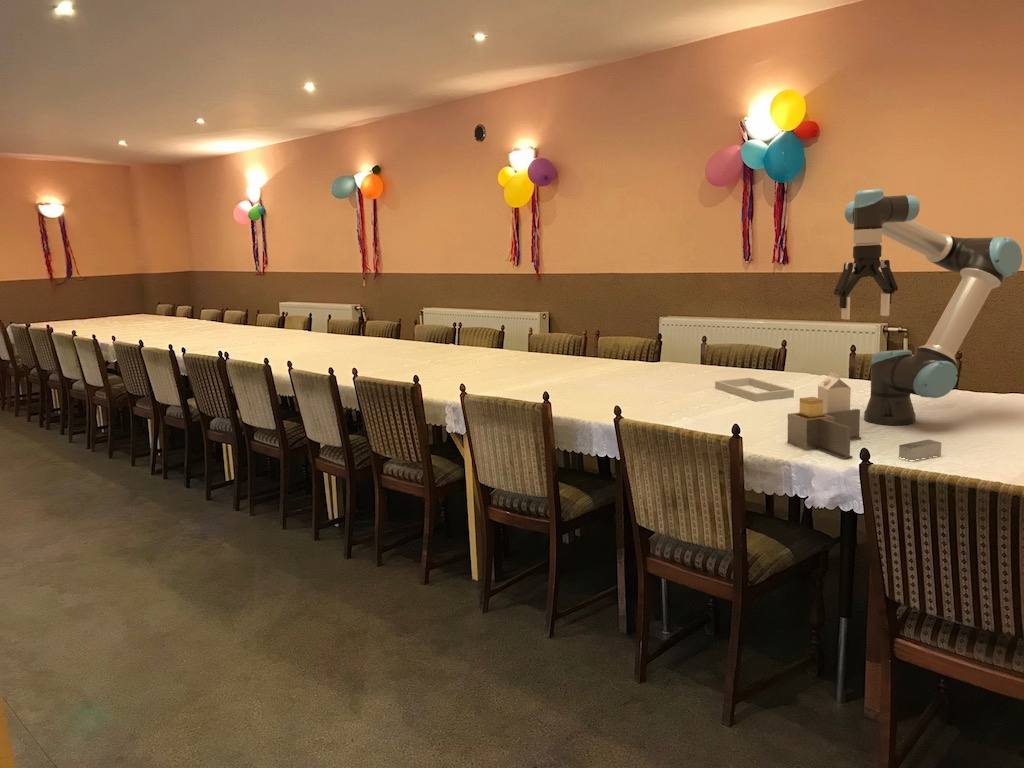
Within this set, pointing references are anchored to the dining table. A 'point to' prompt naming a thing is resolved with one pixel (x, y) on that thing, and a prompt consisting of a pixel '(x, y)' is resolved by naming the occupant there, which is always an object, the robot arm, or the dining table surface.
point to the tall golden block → (811, 407)
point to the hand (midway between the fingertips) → (865, 317)
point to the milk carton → (834, 394)
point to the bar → (920, 449)
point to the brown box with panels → (825, 432)
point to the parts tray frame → (775, 393)
